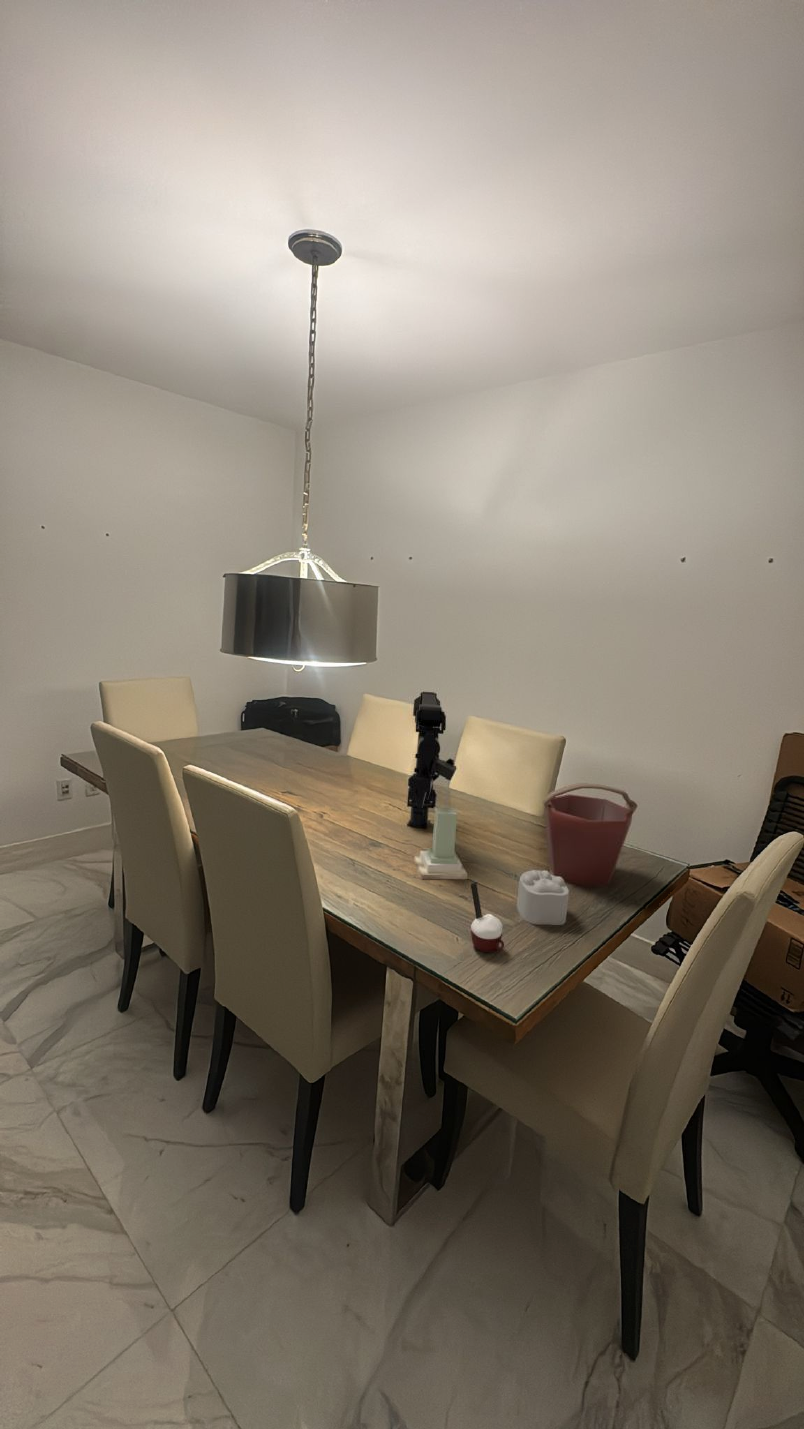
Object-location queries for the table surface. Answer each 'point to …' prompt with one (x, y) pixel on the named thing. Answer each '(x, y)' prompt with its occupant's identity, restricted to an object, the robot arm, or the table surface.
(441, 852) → the sage pillar
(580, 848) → the bucket
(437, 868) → the whitewashed top slab
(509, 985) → the table surface
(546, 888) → the white paw print block
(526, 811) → the table surface
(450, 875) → the ash base slab
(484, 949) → the cocoa
